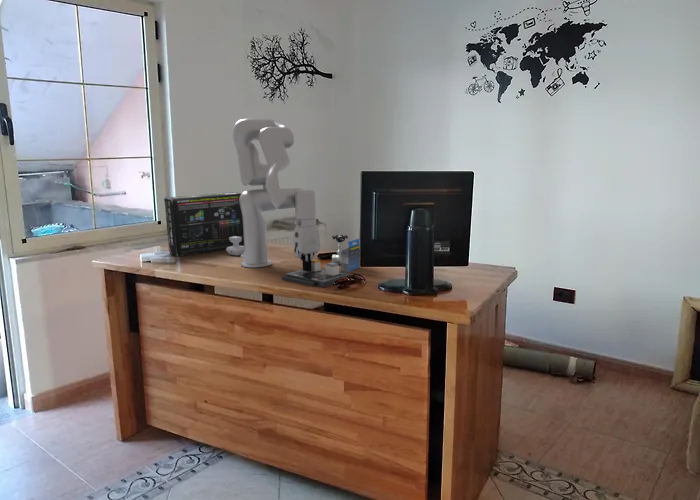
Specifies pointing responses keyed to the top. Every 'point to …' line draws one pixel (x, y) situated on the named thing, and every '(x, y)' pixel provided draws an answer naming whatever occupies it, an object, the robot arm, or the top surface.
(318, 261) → the orange-capped toggle
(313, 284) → the dark grey bar
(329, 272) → the grey-capped toggle
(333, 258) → the valve
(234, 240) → the stamp
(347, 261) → the label tape box
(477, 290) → the top surface
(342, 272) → the back cord
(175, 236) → the router box
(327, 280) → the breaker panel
